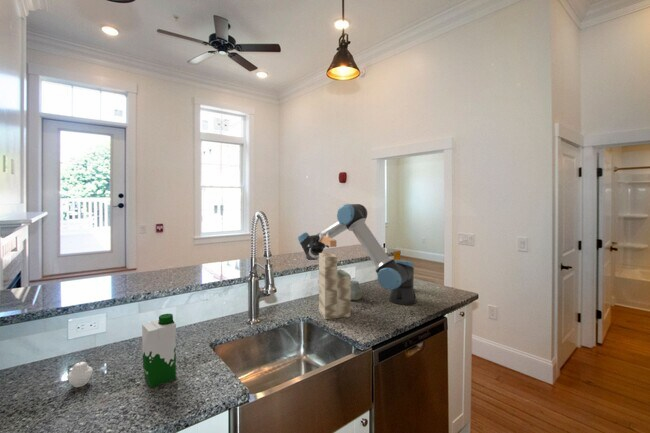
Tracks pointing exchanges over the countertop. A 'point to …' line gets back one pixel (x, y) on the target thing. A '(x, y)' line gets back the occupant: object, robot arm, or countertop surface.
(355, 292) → the air freshener
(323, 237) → the orange bar
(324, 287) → the stepped stand
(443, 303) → the countertop surface
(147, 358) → the milk carton
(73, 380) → the pale grey lumpy disc
